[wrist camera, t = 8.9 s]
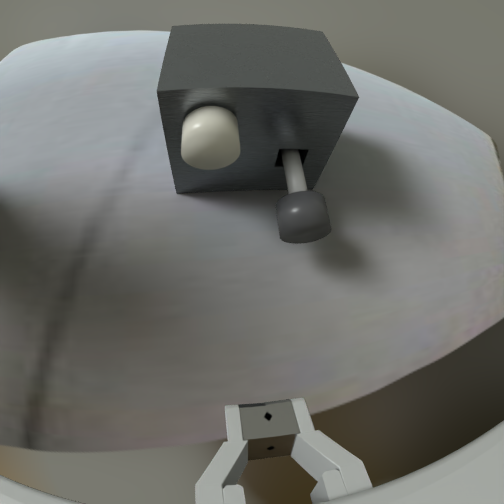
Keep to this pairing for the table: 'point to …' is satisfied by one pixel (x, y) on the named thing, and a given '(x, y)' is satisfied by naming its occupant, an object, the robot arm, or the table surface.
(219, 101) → the control box
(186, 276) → the table surface
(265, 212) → the table surface
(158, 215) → the table surface
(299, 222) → the charcoal knob
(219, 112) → the ivory knob
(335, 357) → the table surface
